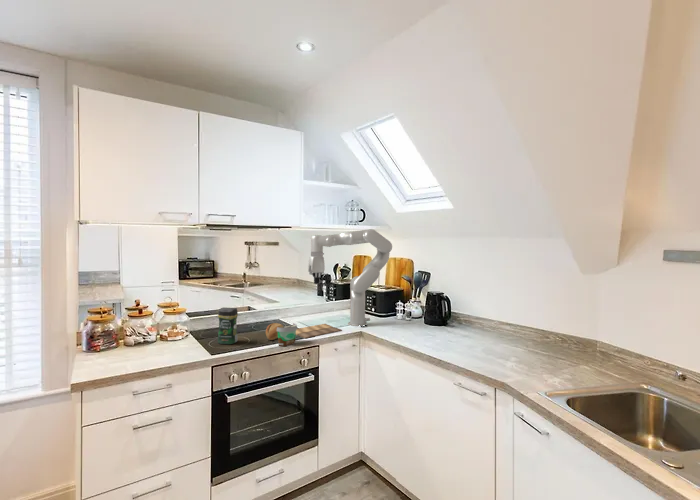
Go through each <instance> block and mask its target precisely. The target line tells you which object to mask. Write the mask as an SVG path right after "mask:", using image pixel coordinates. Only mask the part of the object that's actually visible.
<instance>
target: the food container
mask: <svg viewBox="0 0 700 500" xmlns="http://www.w3.org/2000/svg"><path fill="white" fill-rule="evenodd" d="M292 323H293V324H292V325H285V326H284V327H283V328H280V327H277V331H278V338H277V343H278V347H282V348H288V347H289V346H291V345H293V344H296V336H297V335H296V330H297V329H298V325H297V324H296V323H294V322H292Z"/></svg>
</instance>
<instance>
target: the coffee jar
mask: <svg viewBox="0 0 700 500" xmlns="http://www.w3.org/2000/svg"><path fill="white" fill-rule="evenodd" d="M217 311H218V313H217V318H218V322H219V323H218V324H219V325H218V334H217V343H218V344H219V345H220V344H222V345H232V344H235V343H237V342H238V329H237V321H238V316H239V314H238V308H236V307H220V308H219V309H218V310H217Z"/></svg>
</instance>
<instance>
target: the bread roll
mask: <svg viewBox="0 0 700 500" xmlns="http://www.w3.org/2000/svg"><path fill="white" fill-rule="evenodd" d="M277 327H280V328H283V327H285V326H284V325H283V324H281V323H280V322H279V323H278V322H272V323H270V324H269V325H267V326H266V329H265V336H266V339H267V340H269V341H273V340H278V331H277Z"/></svg>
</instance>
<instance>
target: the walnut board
mask: <svg viewBox="0 0 700 500" xmlns="http://www.w3.org/2000/svg"><path fill="white" fill-rule="evenodd" d="M342 331H343V329H341V328H338V327H334V326H332V328H327V329H322V330H317V331H312V332H306V333H301V334H298V335H297V336H299V337H301V338H303V339H309V338H314V337H320V336H323V335H329V334H334V333H338V332H342Z"/></svg>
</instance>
